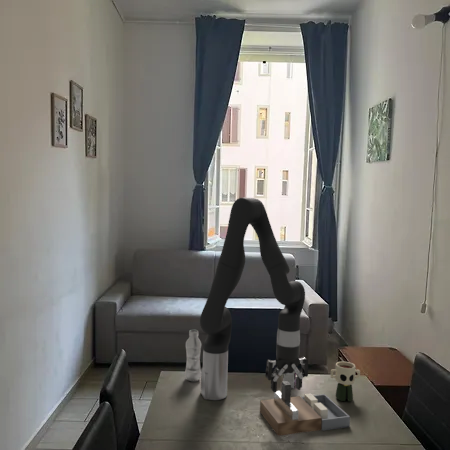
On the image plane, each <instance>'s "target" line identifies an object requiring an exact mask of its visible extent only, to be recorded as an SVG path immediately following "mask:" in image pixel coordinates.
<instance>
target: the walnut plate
mask: <svg viewBox="0 0 450 450" xmlns="http://www.w3.org/2000/svg"><path fill="white" fill-rule="evenodd" d="M301 397H302V396H301V395H299V396H291V400H290V402H291V403H292V404H293V405H294V407H295V408H296V409H297V410H298V420H293V421H292V420H291V419H290V417H289V416H288V415H287V414H286V413H285V412H284V411H283V409H282V408H281V407H280V406H279V405H278V404H277V403H276V401H275V400H274V398H271V399H263V400H260V401H259V402H260V404H259V412H260V414H261V415H262V416H263V418H264V419H265V420H266V421H267V424H268V425H269V426H270V427H271V428H272V430H273V431H274V432H275V434H276V436H285V435H286V436H288V435H294V434H301V433H308V432H316V431H322V430H321V425H322V418H321V417H320V416H319V415H318V414H317V413H316V412H315V411H314V410H313V409H312V408H311V407H310V406H309V405H308V404H307V403H306V402H305V401H304V400H303V399H302V398H301Z"/></svg>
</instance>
